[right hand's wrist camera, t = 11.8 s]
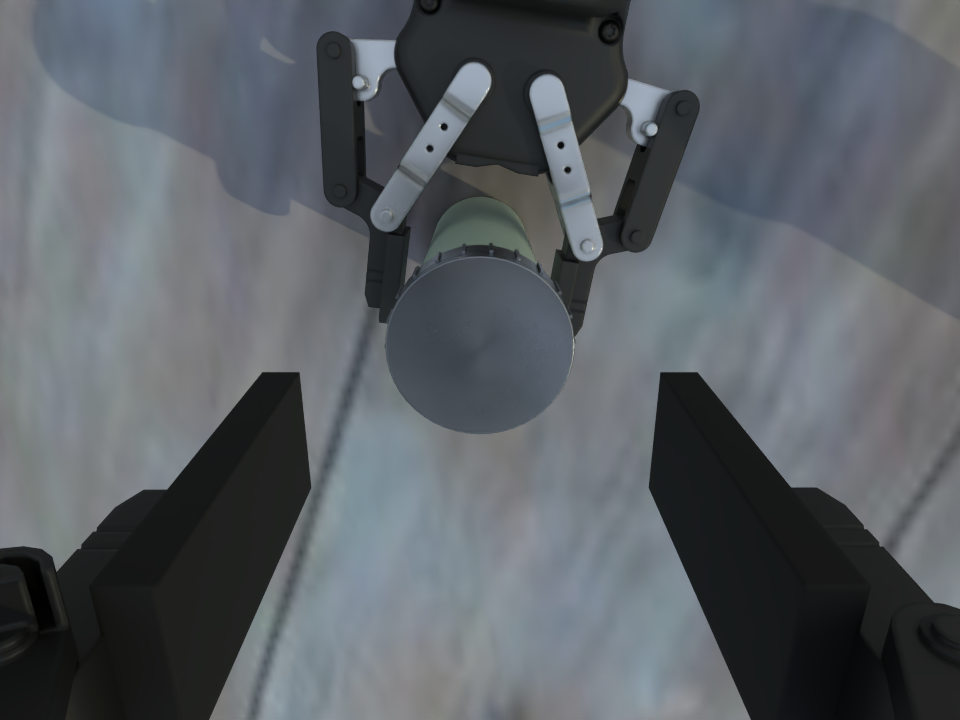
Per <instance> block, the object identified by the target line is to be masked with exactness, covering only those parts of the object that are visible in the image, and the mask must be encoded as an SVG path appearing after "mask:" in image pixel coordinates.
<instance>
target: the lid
mask: <svg viewBox="0 0 960 720" xmlns="http://www.w3.org/2000/svg"><path fill="white" fill-rule="evenodd" d="M561 294H562V292H561V290H560V288H559V286H558V283H557V282H554V283H553V281H552V280H551V278H550V277H549V276H548V275H547V274H546V273H545V271H543V269H542V266H541V264H540V263H539V262H538V263H537V264H536V263H534V262H533V261H531V260H530V259H528V258H527V257H525V256H523V255H521V254H519V250H517V249H515V251H512V250H509V249H506V248H502V247H497V246H493V243H489V245H468V246H466V243H464V244H462V247H457V248H454V249H451V250H448V251H445V252H443V253H441V252H440V251H439V252H437V254H436V256H435V257H433V258H432V259H430V260H429V261H427V262H426V263H424V264H423V265H422V266H421V267H419V266H417V267H416V268H415V270H414V273H413V275H412V276H411V277H410V278H409V280H408V281H407V283H406V284H405V286H404V287H403V286H401V287H400V289H399V291H398V293H397V295H396V299H397V301H396V304H395V306H394V309H391V311H390V314H389V316H388V318H387V321H386V323H388V326H387V332H386V343H385V349H386V358H387V363H388V367H389V371H390V373H391V376H392V378H393V381H394V383H395V385H396V386H397V388H398V390H399V392H400V393H401V394H402V396H403V397H404V398H405V400H406V401H407V402H408V403H409V404H410V405H411V406H412V407H413V408H414V409H415V410H416V411H417V412H419V413H420V414H421V415H423V416H424V417H425V418H427V419H429V420H430V421H432V422H434V423H436V424H438V425H440V426H442V427H445V428H448V429H451V430H454V431H458V432H464V433H472V434H489V433H496V432H502V431H506V430H509V429H513V428H515V427H518V426H520V425H522V424H525V423H526V422H528V421H530V420H531V419H533V418H535V417H536V416H537V415H539V414H540V413H541V412H543V411H544V410H545V409H546V408H547V407H548V406H549V405H550V404H551V403H552V402H553V401H554V399H555V398H556V397H557V396H558V394H559V393H560V391H561V390H562V388H563V386H564V385H565V383H566V381H567V378H568V376H569V374H570V370H571V367H572V363H573V357H574V344H575V341H576V340H575V338H574V332H573V326H572V323H571V318H573V317H572V314H571V312H570V310H569V307H568V305H567V304H566V305H565V304H564V302H563V299H562V297H561Z"/></svg>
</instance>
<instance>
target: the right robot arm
mask: <svg viewBox="0 0 960 720" xmlns="http://www.w3.org/2000/svg"><path fill="white" fill-rule="evenodd" d="M310 489H311V481H310V471H309V461H308V451H307V442H306V432H305V422H304V412H303V402H302V393H301V383H300V373H299V372H262V374H261V375H260V376H259V377H258V379H257V380H256V381H255V382H254V383H253V385H252V386H251V387H250V388H249V390H248V391H247V392H246V393H245V395H244V396H243V397H242V398H241V399H240V401H239V402H238V403H237V404H236V406H235V407H234V408H233V409H232V411H231V412H230V413H229V414H228V416H227V417H226V418H225V419H224V420H223V422H222V423H221V424H220V425H219V427H218V428H217V429H216V430H215V432H214V433H213V434H212V435H211V436H210V438H209V439H208V440H207V441H206V443H205V444H204V445H203V446H202V448H201V449H200V450H199V451H198V452H197V454H196V455H195V456H194V457H193V459H192V460H191V461H190V462H189V464H188V465H187V466H186V467H185V468H184V470H183V471H182V472H181V473H180V475H179V476H178V477H177V478H176V480H175V481H174V482H173V483H172V484H171V486H170V487H169V488H168V489H167V490H143V491H141V492H139V493H138V494H136V495H134V496H133V497H131V498H130V499H128V500H126V501H125V502H123V503H121V504H120V505H118V506H117V507H115V508H114V509H113V510H112V512H111V513H110V514H109V515H108V516H107V517H106V518H105V519H104V520H103V522H102V523H101V524H100V525H99V526H98V527H97V531H96V532H93V533H92V534H91V535H90V536H89V537H88V538H87V539H86V540H85V541H84V543H83V544H82V547H81V549H77V550H76V551H75V552H74V554H73V555H72V556H71V557H70V558H69V559H68V560H67V561H66V562H65V563H64V565H63V566H62V567H61V568H60V569H59V570H58V571H57V572H56V569H55V565H54V562H53V558H52V556H50V555H49V554H48V553H46V552H45V551H44V550H42V549H38V548H31V547H24V546H22V547H12V548H2V549H0V720H209V719H210V716H211V714H212V712H213V709H214V707H215V705H216V703H217V700H218V698H219V696H220V694H221V691H222V689H223V687H224V685H225V682H226V680H227V678H228V675H229V673H230V671H231V669H232V666H233V664H234V662H235V660H236V657H237V655H238V653H239V650H240V648H241V646H242V644H243V641H244V639H245V637H246V635H247V632H248V630H249V628H250V625H251V623H252V621H253V619H254V616H255V614H256V612H257V610H258V607H259V605H260V603H261V601H262V598H263V596H264V594H265V591H266V589H267V587H268V585H269V582H270V580H271V578H272V576H273V573H274V571H275V569H276V566H277V564H278V562H279V560H280V557H281V555H282V553H283V551H284V548H285V546H286V544H287V542H288V539H289V537H290V535H291V532H292V530H293V528H294V526H295V523H296V521H297V519H298V517H299V514H300V512H301V510H302V507H303V505H304V503H305V501H306V498H307V496H308V494H309V492H310ZM649 489H650V492H651V494H652V496H653V498H654V501H655V503H656V505H657V507H658V510H659V512H660V514H661V517H662V519H663V521H664V523H665V526H666V528H667V530H668V532H669V535H670V537H671V539H672V542H673V544H674V546H675V548H676V551H677V553H678V555H679V557H680V560H681V562H682V564H683V566H684V569H685V571H686V573H687V576H688V578H689V580H690V582H691V585H692V587H693V589H694V591H695V594H696V596H697V598H698V601H699V603H700V605H701V607H702V610H703V612H704V614H705V616H706V619H707V621H708V623H709V625H710V628H711V630H712V632H713V635H714V637H715V639H716V641H717V644H718V646H719V648H720V650H721V653H722V655H723V657H724V660H725V662H726V664H727V666H728V669H729V671H730V673H731V675H732V678H733V680H734V682H735V685H736V687H737V689H738V691H739V694H740V696H741V698H742V700H743V703H744V705H745V707H746V709H747V712H748V714H749V716H750V719H751V720H960V609H958V608H955V607H952V606H949V605H946V604H940V603H934V602H933V601H932V600H931V599H930V598H929V597H928V595H927V594H926V593H925V592H924V591H923V590H922V589H921V588H920V587H919V586H918V584H917V583H916V582H915V581H914V580H913V579H912V578H911V577H910V576H909V575H908V573H907V572H906V571H905V570H904V569H903V568H902V567H901V566H900V565H899V564H898V562H897V561H896V560H895V559H894V558H893V557H892V556H891V555H890V554H889V553H888V552H887V550H886V549H885V548H884V547H880V546H879V542H878V541H877V539H876V538H875V537H874V536H873V535H872V534H871V533H870V532H869V531H868V530H867V529H864V525H863V524H862V523H861V522H860V521H859V520H858V519H857V518H856V516H855V515H854V514H853V513H852V512H851V511H850V510H849V509H848V508H847V507H846V505H844V504H843V503H841V502H839V501H838V500H836V499H834V498H833V497H831V496H830V495H828V494H826V493H825V492H823V491H821V490H820V489H818V488H791V487H790V486H789V484H788V483H787V482H786V481H785V480H784V478H783V477H782V476H781V475H780V473H779V472H778V471H777V470H776V468H775V467H774V466H773V465H772V464H771V462H770V461H769V460H768V459H767V457H766V456H765V455H764V454H763V452H762V451H761V450H760V449H759V448H758V446H757V445H756V444H755V443H754V441H753V440H752V439H751V438H750V436H749V435H748V434H747V433H746V432H745V430H744V429H743V428H742V427H741V425H740V424H739V423H738V422H737V420H736V419H735V418H734V417H733V416H732V414H731V413H730V412H729V411H728V409H727V408H726V407H725V406H724V404H723V403H722V402H721V401H720V399H719V398H718V397H717V396H716V395H715V393H714V392H713V391H712V390H711V388H710V387H709V386H708V385H707V383H706V382H705V381H704V380H703V379H702V377H701V376H700V375H699V374H698V372H661V373H660V383H659V393H658V402H657V412H656V422H655V432H654V442H653V451H652V461H651V471H650V481H649Z"/></svg>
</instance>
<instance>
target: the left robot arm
mask: <svg viewBox="0 0 960 720" xmlns="http://www.w3.org/2000/svg"><path fill="white" fill-rule="evenodd" d="M629 5H630V0H414V3H413V8H412V11H411V14H410V17H409V19H408V21H407V23H406V25H405V26H404V28H403V29H402V31H401V32H400V34H399V35H398V37H397V40H376V39H350V38H349V37H347V36H345V35H343V34H341V33H338V32H334V31H331V32H327V33H325V34H323V35H322V36H321V37H320V39H319V41H318V43H317V68H318V87H319V107H320V126H321V145H322V165H323V184H324V194H325V197H326V199H327V200H328V202H329V203H330V204H332V205H334V206H336V207H343V208H345V209H347V210H349V211H351V212H353V213H355V214H357V215H358V216H360V217H361V218H363V219H364V220H365V222H366V223H367V225H368V227H369V230H370V243H369V254H368V265H367V276H366V287H365V296H366V300H367V303H368V306H369V307H374V308H380V313H379V322H380V323H386V321H387V318H388V316H389V314H390V311H391V309H394V306H395V304H396V301H397V299H396V295H397V293H398V291H399V289H400V287H401V286H403V287H404V282H405V273H406V265H407V256H408V247H409V238H410V229H411V227H408V226H406V218H407V213H408V212H409V210H410V209H411V207H412V206H413V204H414V203H415V201H416V200H417V198H418V197H419V195H420V194H421V192H422V191H423V189H424V188H425V186H426V185H427V183H428V182H429V180H430V179H431V177H432V176H433V174H434V173H435V171H436V170H437V168H438V167H439V165H440V164H441V162H442V161H443V159H444V158H445V156H447V157H448V158H450V159H451V160H453V161H456V162H455V164H461V165H467V166H473V167H479V166H487V165H500V166H503V167H505V168H507V169H509V170H511V171H514V172H516V173H519V174H525V175H531V176H538V174H543V173H545V174H546V178H547V181H548V185H549V188H550V191H551V194H552V197H553V200H554V203H555V206H556V210H557V213H558V217H559V220H560V224H561V227H562V231H563V234H564V241H563V247H562V250H557V249H556V253H555V258H554V263H553V268H552V274H551V280H552V281H553V283H554V282H557V283H558V286H559V288H560V290H561V292H562V294H561V297H562V299H563V302H564V304H565V305H566V304H567V305H568V307H569V310H570V312H571V314H572V317H573V318H571V323H572V326H573V332H574V337H575V336H576V334H577V333H578V331H579V330H580V328H581V327H582V324H583V320H584V315H585V310H586V306H587V301H588V296H589V292H590V287H591V282H592V278H593V273H594V269H595V266H596V264H597V263H598V262H599V260H600V259H602V258H603V257H604V256H606V255H609V254H613V253H618V252H623V251H630V252H641V251H643V250H645V249H646V248H647V247H648V246H649V245H650V244H651V241H652V239H653V236H654V233H655V231H656V228H657V225H658V222H659V220H660V217H661V214H662V211H663V209H664V206H665V203H666V201H667V198H668V195H669V192H670V190H671V187H672V184H673V181H674V179H675V176H676V173H677V170H678V168H679V165H680V162H681V159H682V157H683V154H684V151H685V149H686V146H687V143H688V140H689V138H690V135H691V132H692V129H693V127H694V124H695V121H696V118H697V116H698V113H699V109H700V104H699V100H698V98H697V96H696V95H695V94H694V93H693V92H691V91H688V90H665V89H662V88H659V87H656V86H652V85H649V84H646V83H642V82H639V81H636V80H633V79H629V78H628V73H627V69H626V66H625V62H624V57H623V35H624V30H625V25H626V20H627V15H628V10H629ZM394 69H397V71H398V73H399V75H400V77H401V79H402V80H403V82H404V84H405V86H406V88H407V90H408V92H409V94H410V96H411V98H412V100H413V102H414V104H415V106H416V108H417V110H418V111H419V113H420V115H421V117H422V119H423V121H424V123H425V125H424V126H423V128H422V130H421V131H420V133H419V134H418V136H417V137H416V139H415V140H414V142H413V144H412V145H411V147H410V148H409V150H408V151H407V153H406V154H405V156H404V158H403V159H402V161H401V162H400V164H399V166H398V168H397V170H396V171H395V173H394V174H393V176H392V177H391V179H390V180H389V182H388V184H387V185H386V187H383V186H381V185H379V184H378V183H376V182H374V181H372V180H370V179H368V178H367V177H366V154H365V120H364V101H370V100H373V99H375V98H376V97H377V96H378V95H379V93H380V91H381V86H382V81H383V78H384V76H385V75H386V74H387V73H388V72H389V71H391V70H394ZM618 106H621V107H622V108H623V109H624V111H625V112H626V115H627V126H626V133H627V136H628V138H629V139H630V140H631V141H632V142H633V143H635V144H637V146H636V149H635V152H634V155H633V158H632V161H631V164H630V167H629V169H628V172H627V175H626V178H625V181H624V184H623V187H622V190H621V193H620V196H619V199H618V202H617V205H616V208H615V211H614V214H613V216H608V217H603V218H598V219H597V218H596V214H595V210H594V207H593V203H592V198H591V190H590V186H589V182H588V178H587V175H586V171H585V167H584V163H583V160H582V156H581V152H580V149H579V146H580V145H581V144H582V143H583V142H584V141H585V140H586V139H587V138H588V137H589V136H590V135H591V134H592V132H593V131H594V130H595V129H596V128H597V127H598V126H599V125H600V124H601V123H602V122H603V121H604V120H605V119H606V118H607V117H608V116H609V115H610V114H611V113H612V112H613V111H614V110H615V109H616V108H617V107H618ZM387 324H388V323H387Z"/></svg>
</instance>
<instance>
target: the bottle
mask: <svg viewBox="0 0 960 720" xmlns="http://www.w3.org/2000/svg"><path fill="white" fill-rule="evenodd" d="M464 243H466V246H468V245H489V243H493V246H497V247H502V248H506V249H509V250H512V251H515V249H517V250H519V254H521V255H523V256H525V257H527V258H528V259H530V260H531V261H533V262H534V263H536V260H535V257H534V254H533V251H532V249H531V246H530V243H529V240H528V237H527V235H526V232H525V229H524V226H523V224H522V222H521V220H520V219H519V217H518V216H517V214H516V213H515V212H514V211H513V210H512V209H511V208H510V207H509V206H507V205H506V204H504V203H502V202H500V201H498V200H496V199H493V198H488V197H472V198H467V199H464V200H462V201H460V202H458V203H456V204H454V205H453V206H451V207H450V208H449V209H448V210H447V211H446V212H445V213H444V214H443V215H442V217H441V219H440V220H439V222H438V224H437V226H436V229H435V232H434V235H433V237H432V240H431V243H430V246H429V249H428V251H427V254H426V257H425V260H424V263H426V262H427V261H429V260H430V259H432V258H433V257H435V256H436V254H437V252H439V251H440V252H441V253H443V252H445V251H448V250H451V249H454V248H457V247H462V244H464ZM424 263H423V264H424ZM536 264H537V263H536Z"/></svg>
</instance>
